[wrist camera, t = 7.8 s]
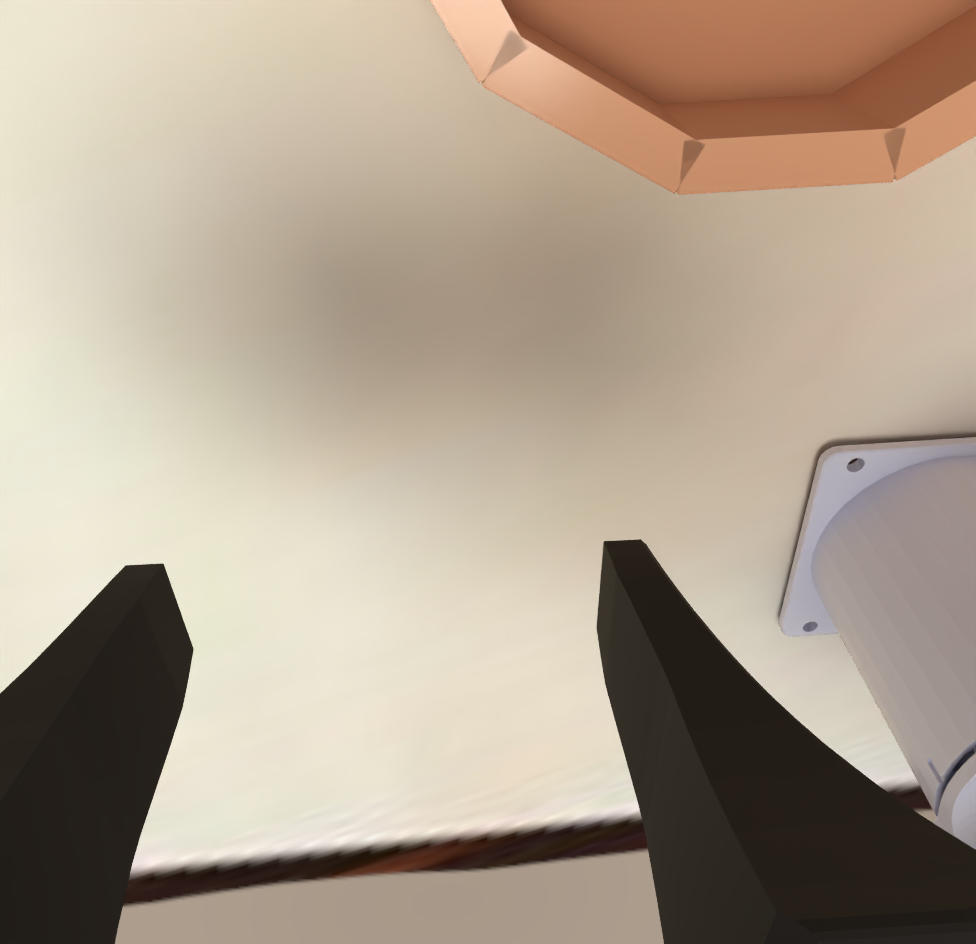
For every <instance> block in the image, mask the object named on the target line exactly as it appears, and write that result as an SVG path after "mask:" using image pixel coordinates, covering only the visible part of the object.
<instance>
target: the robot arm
mask: <svg viewBox="0 0 976 944" xmlns="http://www.w3.org/2000/svg"><path fill="white" fill-rule="evenodd" d="M855 458H858V460H857V461H856V462H854V463H853V464H849V465H848V463H849V462H850V461H851V460H853V459H855ZM808 622H809V623H808ZM779 627H780V629H781V631H782V632H783V634H785V635H787V636H807V635H822V634H837V633H839V634H840V636H841V638H842V640H843V642H844V644H845V646H846V648H847V649H848V651H849V653H850V655H851V657H852V659H853V661H854V663H855V664H856V666H857V668H858V670H859V672H860V674H861V676H862V678H863V679H864V681H865V683H866V685H867V687H868V689H869V691H870V693H871V694H872V696H873V698H874V700H875V702H876V704H877V706H878V707H879V709H880V711H881V713H882V715H883V717H884V719H885V721H886V722H887V724H888V726H889V728H890V730H891V732H892V734H893V736H894V737H895V739H896V741H897V743H898V745H899V747H900V749H901V751H902V752H903V754H904V756H905V758H906V760H907V762H908V764H909V765H910V767H911V769H912V771H913V773H914V775H915V777H916V779H917V780H918V782H919V784H920V786H921V788H922V790H923V792H924V794H925V795H926V797H927V799H928V801H929V803H930V805H931V807H932V809H933V810H934V812H935V814H936V816H937V818H936V819H935V821H934V822H933V823H932V822H931V821H929V820H927V819H926V818H924V817H923V816H921V815H920V814H918V813H917V812H915V811H914V810H912V809H911V808H910V807H908V806H907V805H905V804H904V803H902V802H901V801H900V800H898V799H897V798H895V797H894V796H892V795H891V794H889V793H888V792H887V791H885V790H884V789H882V788H881V787H879V786H878V785H877V784H875V783H874V782H873V781H872V780H870V779H869V778H868V777H866V776H865V775H864V774H863V773H861V772H860V771H859V770H857V769H856V768H855V767H854V766H852V765H851V764H850V763H848V762H847V761H846V760H845V759H843V758H842V757H841V756H839V755H838V754H837V753H836V752H834V751H833V750H832V749H830V748H829V747H828V746H827V745H825V744H824V743H823V742H822V741H821V740H820V739H818V738H817V737H816V736H815V735H814V734H813V733H812V732H810V731H809V730H808V729H807V728H806V727H805V726H804V725H802V724H801V723H800V722H799V721H798V720H797V719H796V718H794V717H793V716H792V715H791V714H790V713H789V712H788V711H787V710H786V709H785V708H784V707H783V706H782V705H781V704H779V703H778V702H777V701H776V700H775V699H774V698H773V697H772V696H771V695H770V694H769V693H768V692H767V691H766V690H765V689H764V688H763V687H762V686H761V685H760V684H759V683H758V682H757V681H756V680H755V679H754V678H753V677H752V676H751V675H750V674H749V673H748V672H747V671H746V669H745V668H744V667H743V666H742V665H741V664H740V663H739V662H738V661H737V660H736V659H735V658H734V657H733V655H732V654H731V653H730V652H729V651H728V650H727V649H726V648H725V646H724V645H723V644H722V643H721V642H720V641H719V640H718V639H717V637H716V636H715V635H714V634H713V633H712V631H711V630H710V629H709V628H708V627H707V625H706V624H705V623H704V622H703V620H702V619H701V618H700V617H699V616H698V614H697V613H696V612H695V611H694V610H693V608H692V607H691V606H690V604H689V603H688V602H687V601H686V599H685V598H684V597H683V595H682V594H681V593H680V591H679V590H678V589H677V587H676V586H675V585H674V584H673V582H672V581H671V579H670V578H669V577H668V575H667V574H666V573H665V571H664V570H663V568H662V567H661V565H660V564H659V563H658V561H657V560H656V558H655V557H654V555H653V554H652V552H651V551H650V549H649V548H648V546H647V545H646V544H645V543H644V542H643V541H642V540H623V541H604V546H603V558H602V570H601V582H600V593H599V605H598V617H597V634H598V640H599V647H600V654H601V660H602V667H603V673H604V679H605V684H606V688H607V692H608V696H609V699H610V703H611V707H612V710H613V714H614V718H615V721H616V725H617V729H618V732H619V736H620V739H621V743H622V747H623V750H624V754H625V757H626V761H627V765H628V768H629V772H630V775H631V779H632V783H633V786H634V790H635V793H636V797H637V801H638V804H639V808H640V812H641V817H642V821H643V825H644V830H645V834H646V840H647V845H648V851H649V857H650V862H651V867H652V873H653V879H654V885H655V891H656V896H657V902H658V909H659V914H660V921H661V927H662V933H663V939H664V944H976V437H968V438H952V439H937V440H921V441H906V442H890V443H874V444H859V445H843V446H835V447H831V448H829V449H827V450H826V451H825V452H824V453H823V454H822V455H821V456H820V458H819V460H818V464H817V468H816V472H815V476H814V480H813V484H812V488H811V492H810V496H809V500H808V504H807V508H806V512H805V516H804V520H803V524H802V528H801V533H800V537H799V541H798V545H797V549H796V553H795V557H794V561H793V565H792V569H791V573H790V577H789V581H788V585H787V589H786V593H785V597H784V601H783V606H782V610H781V614H780V618H779ZM192 655H193V646H192V644H191V641H190V638H189V635H188V632H187V629H186V627H185V624H184V621H183V618H182V615H181V612H180V609H179V607H178V604H177V601H176V598H175V595H174V592H173V590H172V587H171V584H170V581H169V578H168V575H167V572H166V570H165V567H164V564H146V565H127V566H125V567H124V568H123V569H122V570H121V571H120V572H119V573H118V574H117V575H116V576H115V577H114V578H113V579H112V580H111V581H110V582H109V583H108V584H107V585H106V587H105V588H104V589H103V590H102V591H101V592H100V593H99V594H98V595H97V596H96V597H95V598H94V599H93V600H92V601H91V602H90V603H89V605H88V606H87V607H86V608H85V609H84V610H83V611H82V612H81V613H80V614H79V615H78V616H77V617H76V618H75V619H74V620H73V622H72V623H71V624H70V625H69V626H68V627H67V628H66V629H65V630H64V631H63V632H62V633H61V634H60V635H59V636H58V637H57V638H56V639H55V640H54V641H53V642H52V643H51V644H50V645H49V646H48V647H47V648H46V650H45V651H44V652H43V653H42V654H41V655H40V656H39V657H38V658H37V659H36V660H35V661H34V662H33V663H32V664H31V665H30V666H29V667H28V668H27V669H26V670H25V671H24V672H23V673H21V674H20V675H19V676H18V677H17V678H16V679H15V680H14V681H13V682H12V683H11V684H10V685H9V686H8V687H7V688H6V689H5V690H4V691H2V692H1V693H0V944H115V939H116V934H117V928H118V924H119V920H120V915H121V911H122V907H123V902H124V898H125V893H126V889H127V884H128V880H129V875H130V871H131V866H132V862H133V859H134V856H135V852H136V849H137V845H138V842H139V838H140V835H141V832H142V829H143V826H144V823H145V820H146V817H147V814H148V811H149V808H150V805H151V802H152V799H153V796H154V793H155V790H156V787H157V784H158V781H159V778H160V775H161V772H162V769H163V766H164V763H165V760H166V757H167V754H168V751H169V748H170V745H171V742H172V739H173V736H174V732H175V729H176V726H177V723H178V720H179V717H180V714H181V711H182V707H183V703H184V698H185V693H186V688H187V683H188V678H189V672H190V666H191V660H192Z"/></svg>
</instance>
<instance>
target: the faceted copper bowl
mask: <svg viewBox="0 0 976 944" xmlns="http://www.w3.org/2000/svg"><path fill="white" fill-rule="evenodd" d="M430 1H431V3H432V4H433V6H434V8H435V9H436V11H437V13H438V15H439V16H440V18H441V20H442V21H443V23H444V25H445V26H446V28H447V30H448V32H449V33H450V35H451V37H452V38H453V40H454V42H455V43H456V45H457V47H458V48H459V50H460V52H461V54H462V55H463V57H464V59H465V60H466V62H467V64H468V65H469V67H470V69H471V70H472V72H473V74H474V76H475V77H476V79H477V81H478V82H479V83H480V82H482V86H483V87H484V88H486V89H488V90H490V91H492V92H493V93H495V94H497V95H499V96H500V97H502V98H504V99H506V100H508V101H509V102H511V103H513V104H515V105H517V106H518V107H520V108H522V109H524V110H526V111H527V112H529V113H531V114H533V115H535V116H536V117H538V118H540V119H542V120H544V121H545V122H547V123H549V124H551V125H552V126H554V127H556V128H558V129H560V130H561V131H563V132H565V133H567V134H569V135H570V136H572V137H574V138H576V139H578V140H579V141H581V142H583V143H585V144H587V145H588V146H590V147H592V148H594V149H595V150H597V151H599V152H601V153H603V154H604V155H606V156H608V157H610V158H612V159H613V160H615V161H617V162H619V163H621V164H622V165H624V166H626V167H628V168H630V169H631V170H633V171H635V172H637V173H638V174H640V175H642V176H644V177H646V178H647V179H649V180H651V181H653V182H655V183H656V184H658V185H660V186H662V187H664V188H665V189H667V190H669V191H671V192H673V193H674V194H675V192H677V193H678V194H696V193H713V192H730V191H747V190H764V189H781V188H798V187H815V186H832V185H849V184H866V183H883V182H893V179H896V180H899V179H901V178H902V177H904V176H906V175H908V174H909V173H911V172H913V171H915V170H917V169H918V168H920V167H922V166H924V165H925V164H927V163H929V162H931V161H932V160H934V159H936V158H938V157H939V156H941V155H943V154H945V153H946V152H948V151H950V150H952V149H954V148H955V147H957V146H959V145H961V144H962V143H964V142H966V141H968V140H969V139H971V138H973V137H975V136H976V0H430Z"/></svg>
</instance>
